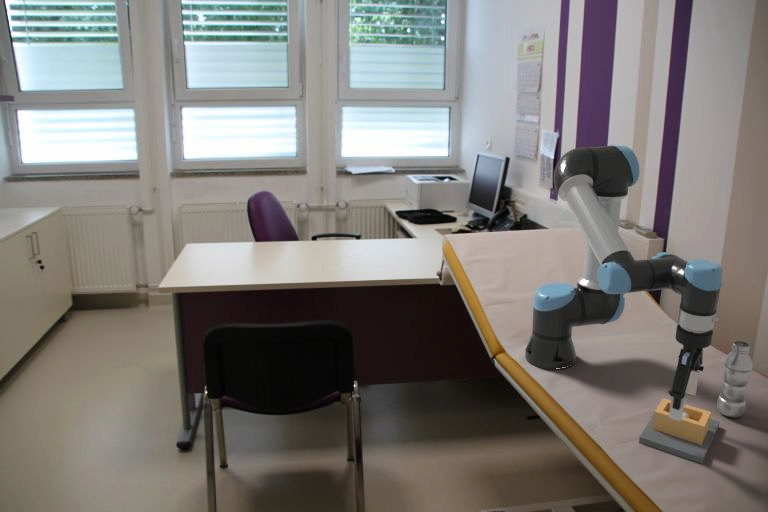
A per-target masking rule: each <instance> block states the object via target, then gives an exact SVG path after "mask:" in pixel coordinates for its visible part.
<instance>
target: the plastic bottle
mask: <svg viewBox="0 0 768 512" xmlns="http://www.w3.org/2000/svg"><path fill="white" fill-rule="evenodd" d="M750 348H751V345H750V344H749V343H748V342H747V341H743V340H735V341H733V342H732V346H731V352H729V353H728V354H727V355H726V356H725V358H724V360H723V381H722V386H721V389H720V393H719V395H718V398H717V400H716V408H717V410H718V411H719V413H720V414H722V415H723V416H726V417H729V418H739V417H741V416H743V415H744V412H745V411H746V408H747V407H746V405H747V404H746V394H747V393H746V392H747V385H748V381H749V379H750V376H751V373H752V372H753V371H752V370H753V367H754V364H753V360H752V358H751V357H750V355H749V353H750Z"/></svg>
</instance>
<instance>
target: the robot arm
mask: <svg viewBox="0 0 768 512" xmlns="http://www.w3.org/2000/svg"><path fill="white" fill-rule="evenodd" d="M639 178H640V164H639V160H638V157H637V155H636V154H635V152H634V151H633V149H631V148H630V147H628V146H626V145H615V144H612V145H601V146H600V145H599V146H589V147H587V146H586V147H576V148H573V149H570V150H568V151H567V152H565V153H564V154H563V155H561V157H560V159H559V160H558V162H557V164H556V166H555V167H554V171H553V183H554V185H553V186H554V188H555V191H556V193H557V195H558V197H559V199H561V200H562V201H563V202H566V203H567V205H568V208H569V209H570V211H571V213H572V214H573V216H574V218H575V220H576V222H577V224H578V226H579V228H580V229H581V231H582V233H583V236H584V237H585V251H584V261H583V263H584V264H583V272H582V275H580V276H579V277H578V278H577V282H576V283H577V285H576V287H574V286H573V285H572V284H570V283H566V282H551V283H546V284H543V285H541V286H539V287H538V288H537V290H536V291H535V292H534V298H533V302H532V307H533V309H532V330H531V336H530V337H529V340H528V343H527V345H526V347H525V353H524V357H525V360H526V361H527V362H528V363H529V364H531V365H533V366H535V367H538V368H541V369H544V368H546V369H545V370H552V369H556V368H562V367H567V366H570V365H572V366H574V365H575V364H574V363H576V362H577V352H576V349H575V346H574V345H575V344H574V342H573V338H572V336H573V335H572V333H573V328H575V327H582V326H583V327H584V326H585V327H586V326H593V325H605V324H608V323H613V322H616V321H617V320H619V319H620V318H621V316H622V315H623V313H624V308H625V304H626V303H625V302H626V301H625V297H624V295H625V294H630V293H631V294H632V293H638V292H639V293H640V292H652V291H660V290H671V291H672V292H674V293H676V294H678V295H679V296H680V303H679V310H678V314H677V325H676V330H675V338H674V339H676V342H678V344H681V345H682V348H680V351H679V354H678V361H677V366H676V370H675V372H674V373H675V374H674V378H673V382H672V386H671V390H669V391H668V395H669V396H670V397H671V405H670V412H669V418H671V419H674V420H677V421H682V415H683V409H684V404H685V403H686V394H688V395H690V396H694V397H695V396H696V395H697V389H698V383H699V377H700V372H703V371H704V367H705V366H703V365H702V364H703V363H704V361H703V358H704V357H703V356H704V349H706V348H708V347H710V346H711V344H712V340H713V334H714V331H713V329H714V325H715V322H716V323H717V322H718V321H719V318H718V317H715V316H716V314H717V310H718V303H719V300H720V293H721V288H722V286H723V282H722V279H723V267H722V266H721V265H720V264H718V263H717V262H714V261H710V260H705V259H693V260H689V261H687V260H684V258H681V257H679V255H675V254H674V253H669V252H667V251H665V252H664V251H662V252H657V254H655V255H653V256H652V257H651V258H649V259H639V260H638V259H637V260H636V259H635V257H634V256H633V255H632V252H630V250H629V248H628V246H627V245H626V243H625V241H624V239H623V238H622V236H621V234H620V233H619V226H620V216H621V207H622V201H623V200H624V199H625V198H626V197H628V195H629V187H633V186H635V185H636V184H637V182H638V180H639ZM573 364H574V365H573Z"/></svg>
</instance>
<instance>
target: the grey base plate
mask: <svg viewBox="0 0 768 512" xmlns="http://www.w3.org/2000/svg"><path fill="white" fill-rule="evenodd" d="M682 417H686V418H689V415H688V414H687V413H685V412H683V415H682ZM653 421H654V414H653V415H652V417H651V418H650V420H649V422H647V424H646V427H645V428H644V429H643V431H642V432H641V434H640V436H639V439H638V443H641V444H643V445H645V446H649V447H651V448H655V449H657V450H661V451H663V452H667V453H670V454H672V455H675V456H678V457H681V458H684V459H686V460H688V461H689V460H690V461H693V462H696V463H698V464H701V465H702V464H703V463H704V461H705V458H706V456H707V454H708V452H709V449H710V448H711V445H712V443H713V441H714V438H715V436H716V434H717V432H718V430H719V427H720V421H718V420H716V419H711V418H710V424H709V430H708V432H707V434H706V436H705V438H704V440H703V442H702V445H700V444H697V443H694V442H691V441H688V440H685V439H682V438H678V437H675V436H672V435H669V434H666V433H663V432H660V431H657V430H654V429H653Z"/></svg>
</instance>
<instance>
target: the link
mask: <svg viewBox="0 0 768 512" xmlns="http://www.w3.org/2000/svg"><path fill="white" fill-rule="evenodd" d="M670 405H671V400H670V399H667V398H664V397H663V398H662V399H661V401H660V403H658V405H657V407H656V408H655V410H654V412H653V413H654V414H653V415H654V421H653V429H654V430H657V431H660V432H663V433H666V434H669V435H672V436H675V437H678V438H682V439H685V440H688V441H691V442H694V443H697V444H700V445H702V442H703V440H704V438H705V436H706V434H707V432H708V430H709V424H710V419H711V417H712V411H709V410H706V409H703V408H698V407H695V406H692V405H688V404H685V403H684V409H683V412H685V413H687V414H688V415H689V418H686V417H682V421H677V420H674V419H671V418H669V412H670Z"/></svg>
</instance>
